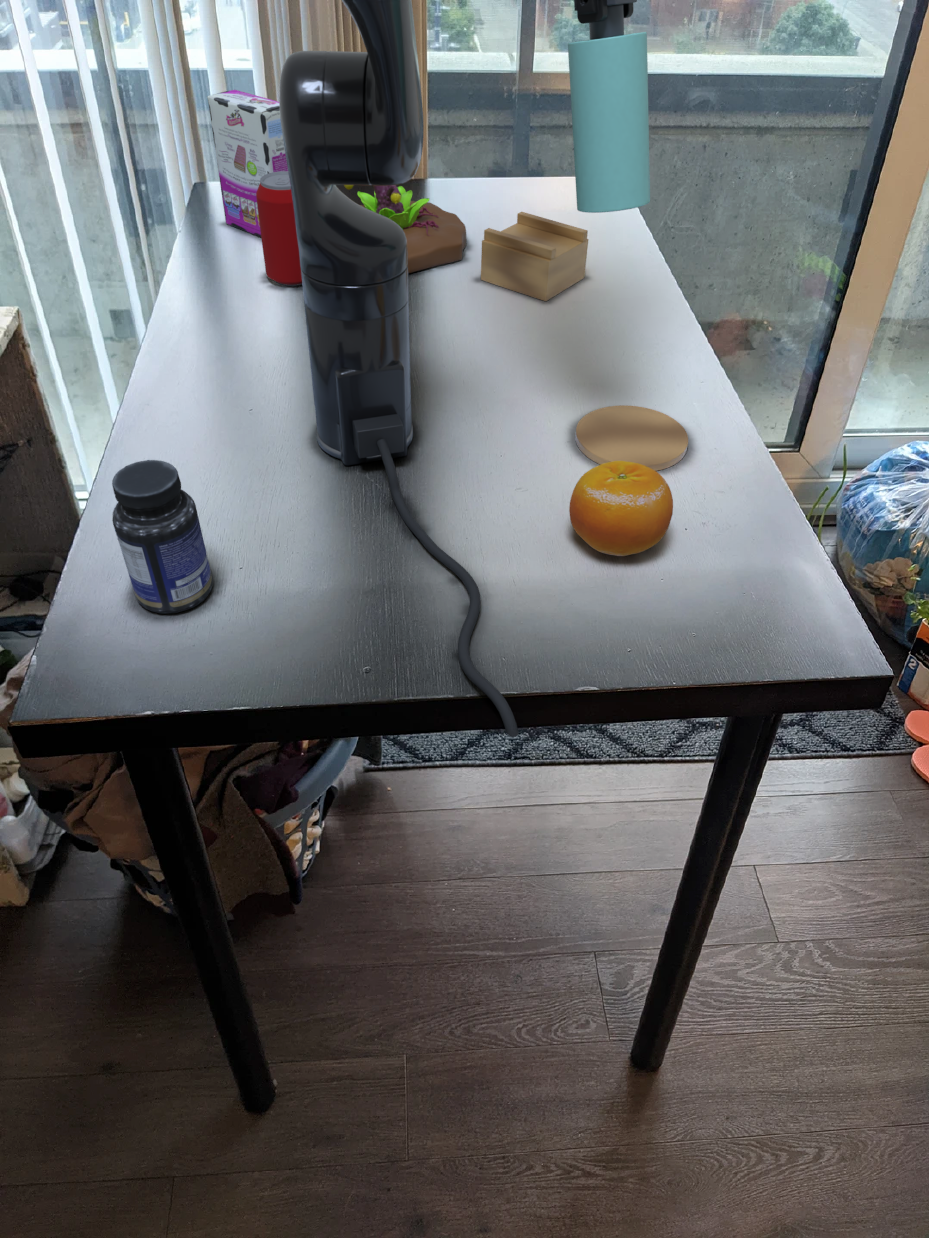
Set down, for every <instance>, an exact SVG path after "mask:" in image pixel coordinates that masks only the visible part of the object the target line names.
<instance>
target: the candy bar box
mask: <svg viewBox="0 0 929 1238" xmlns="http://www.w3.org/2000/svg"><path fill="white" fill-rule="evenodd" d="M206 98H207V104H208V111H209V116H210V125H211V130H212V136H213V143H214V151H215V158H216V164H217V165H216V166H217V171H218V177H219V185H220V192H221V199H222V206H223V212H224V219H225V223H226V224H227V225H229V226H231V227H234V228H236V229H238V230H241V231H244V232H247V233H249V234H251V235H254V236H257V237H260V238H261V232H260V224H259V216H258V207H257V199H256V192H257V190H258V187H259V184H260V178H261V177H262V176H263V175H265V174H268V173H272V172H279V171H288V167H287V161H286V155H285V148H284V142H283V135H282V128H281V120H280V106H279V100H278V101H277V100H274V99H271V98H266V97H263V96H260V95H257V94H256V95H255V94H251V93H249V92H245V91H241V90H238V89H231V90H225V91H222V92H218V93H214V94H209V95H207V96H206Z"/></svg>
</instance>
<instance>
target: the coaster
mask: <svg viewBox="0 0 929 1238" xmlns="http://www.w3.org/2000/svg"><path fill="white" fill-rule="evenodd" d="M574 436H575V437H574V439H575V443H576V446H577V448H578V449H579V451H580V452H581V453H582V454H583V455H584V456H585V457H587V458H588V459H589V460H591V461H592V462H595V463H596V464H598V465H601V464H604V463H607V462H612V461H627V462H634V463H639V464H642V465H645V466H647V467H649V468H651V469H653V470H655V471H656V472H658V471H662V470H665V469H668V468H671V467H673V466H674V465H677V464H678V463H679V462H680V461H682V459H683V458H684V457H685V456H686V454H687V450H688V447H689V435H688V433H687V430H686V429H685V427H684V426H683V425H682V424H680V422H679V421H677V420H676V419H675V418H673V417H671V416H670V415H668V414H667V413H664V412H661V411H659V410H656V409H653V408H648V407H644V406H638V405H629V404H628V405H627V404H624V405H623V404H622V405H619V404H618V405H609V406H604V407H599V408H597V409H595V410H592V411H590V412H587V413H586V414H584V415H583V416H582V417H581V418H580V420H579V421H578V423H577V424H576V427H575V435H574Z"/></svg>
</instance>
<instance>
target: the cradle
mask: <svg viewBox="0 0 929 1238" xmlns="http://www.w3.org/2000/svg"><path fill="white" fill-rule="evenodd" d="M588 231H589V230H588V229H584V228H580V227H577V226H574V225H571V224H567V223H563V222H560V221H556V220H553V219H549V218H547V217H543V216H539V215H536V214H532V213H528V212H525V211H520V212H518V213H517V215H516V223H514V224H512V225H510V226H508V227H506V228H505V229H503V230H501V231H500V230H497V229H494V228H492V227H491V228H490V227H488V228H486V229H484V231H483V239H482V240H481V256H480V258H481V260H480V281H483V282H486V283H489V284H492V285H495V286H498V287H500V288H504V289H507V290H510V291H513V292H516V293H519V294H522V295H524V296H529V297H531V298H534V299H538V300H540V301H543V302H548V301H549V300H550V299H553V298H554V297H556V296H558V295H559V294H560V293H562V292H563V291H566V290H567V289H569V288H570V287H572V286H574V285H575V284H577V283H578V282H581V281H582V280H583V279H585V276H586V266H587V258H588V247H589V239H588Z"/></svg>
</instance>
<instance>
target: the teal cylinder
mask: <svg viewBox="0 0 929 1238" xmlns="http://www.w3.org/2000/svg"><path fill="white" fill-rule="evenodd" d="M637 2H638V0H607V9H608V14H607V17H606V19H605V20H604V21H599V22H592V23H588V28H589V30H588V31H589V39H584V40H578V41H571V42H568V43H567V50H568V51H567V55H568V70H569V71H568V73H569V88H570V89H569V90H570V91H569V92H570V107H571V127H572V143H573V159H574V160H573V161H574V177H575V194H576V195H575V196H576V197H575V198H576V210H577V211H578V212H581V213H589V214H595V213H597V214H598V213H599V214H601V213H613V212H620V211H627V210H632V209H637V208H640V207H644V206H646V205H648V204H650V202H651V173H650V171H651V170H650V167H651V165H650V125H649V124H650V119H649V118H650V115H649V79H648V78H649V75H648V74H649V69H648V68H649V67H648V63H649V62H648V33H647V32H646V31H641V32H634V33H626V34H625V18H624V12H623V4H628V3H633V4H634V3H635V4H636V3H637ZM573 9H574V12H577V7H576V0H573Z"/></svg>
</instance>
